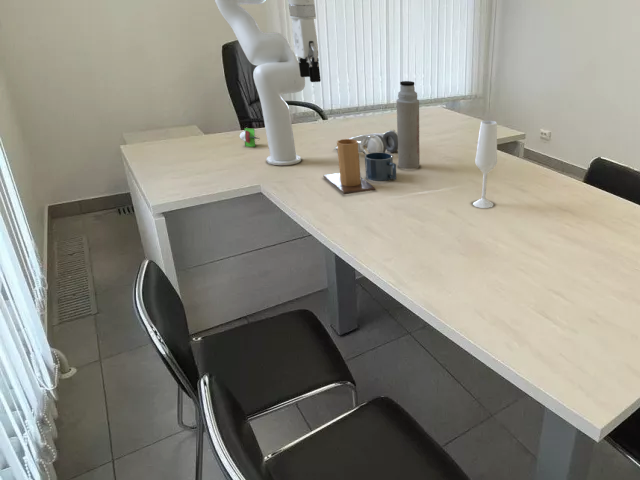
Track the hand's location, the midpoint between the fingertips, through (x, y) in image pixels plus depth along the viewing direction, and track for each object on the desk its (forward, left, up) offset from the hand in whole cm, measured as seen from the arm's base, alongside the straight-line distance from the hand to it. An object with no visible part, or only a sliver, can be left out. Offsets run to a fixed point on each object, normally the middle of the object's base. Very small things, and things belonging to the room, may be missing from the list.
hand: (310, 79), depth 167 cm
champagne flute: (+46, +38, -31) cm, 67 cm away
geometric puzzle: (-52, -12, -31) cm, 61 cm away
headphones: (-26, +30, -31) cm, 50 cm away
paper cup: (+12, +6, -29) cm, 32 cm away
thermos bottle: (0, +34, -31) cm, 46 cm away
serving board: (+10, +6, -30) cm, 32 cm away
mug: (+10, +19, -30) cm, 37 cm away
